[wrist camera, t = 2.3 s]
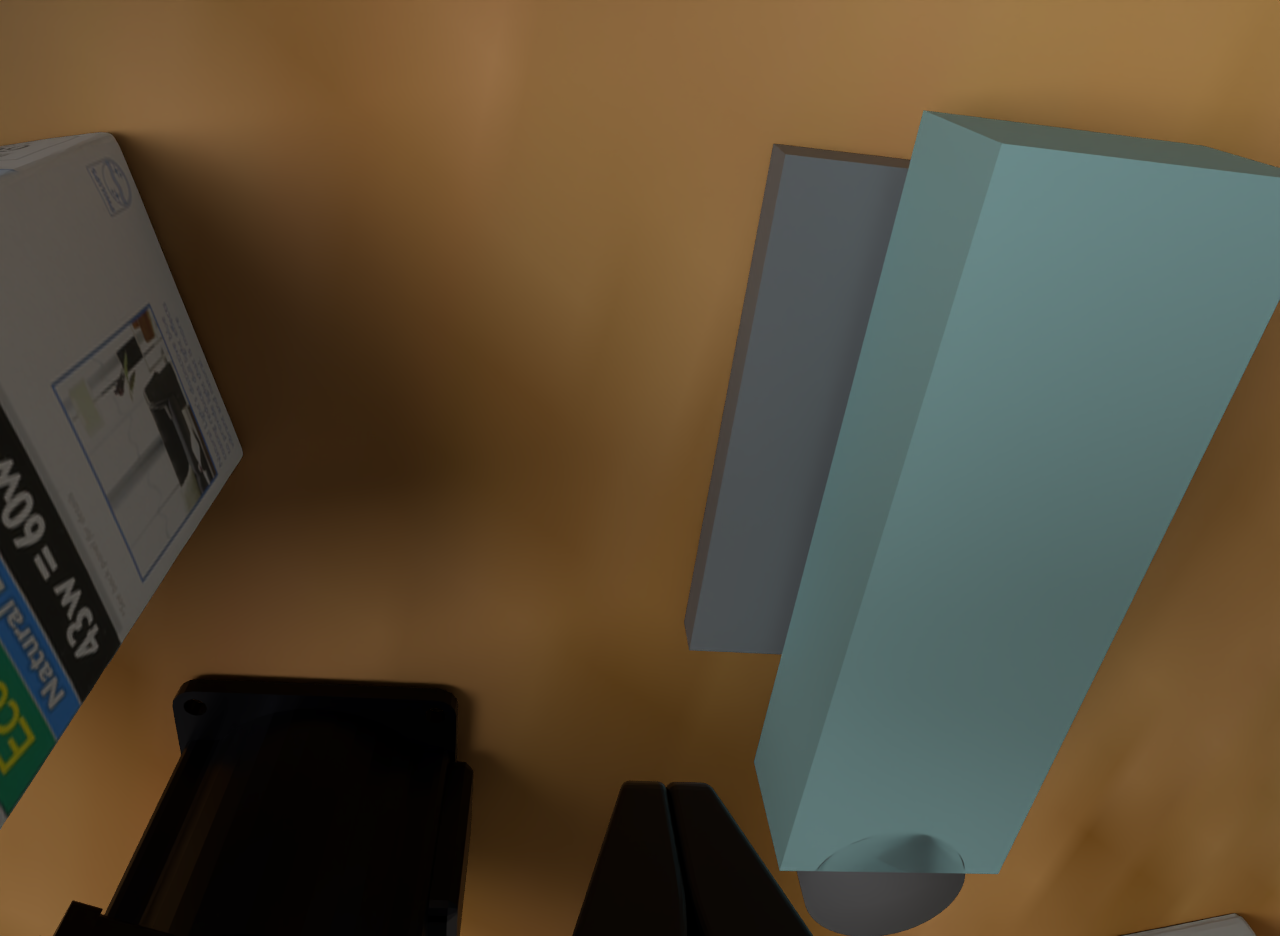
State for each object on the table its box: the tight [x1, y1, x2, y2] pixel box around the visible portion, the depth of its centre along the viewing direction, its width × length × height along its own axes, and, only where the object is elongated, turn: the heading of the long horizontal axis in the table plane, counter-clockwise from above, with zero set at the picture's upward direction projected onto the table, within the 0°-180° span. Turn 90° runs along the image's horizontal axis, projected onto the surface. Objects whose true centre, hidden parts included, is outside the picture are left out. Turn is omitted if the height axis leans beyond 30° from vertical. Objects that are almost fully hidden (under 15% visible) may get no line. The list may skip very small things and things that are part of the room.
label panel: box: [684, 144, 911, 654], centre depth 19 cm, size 9×11×1 cm
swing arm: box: [754, 111, 1280, 936], centre depth 18 cm, size 5×17×3 cm, turn 173°
